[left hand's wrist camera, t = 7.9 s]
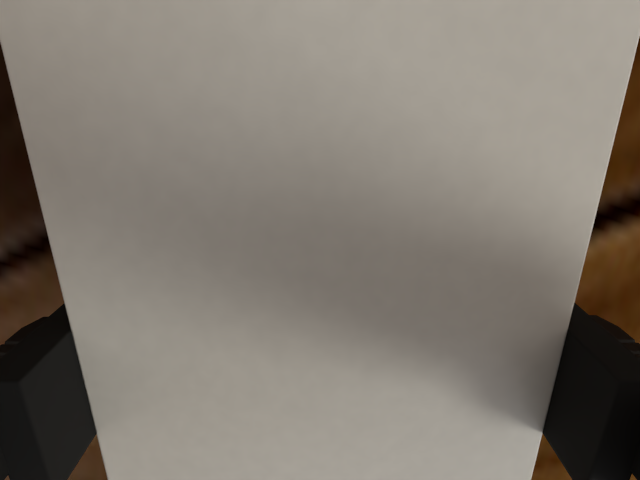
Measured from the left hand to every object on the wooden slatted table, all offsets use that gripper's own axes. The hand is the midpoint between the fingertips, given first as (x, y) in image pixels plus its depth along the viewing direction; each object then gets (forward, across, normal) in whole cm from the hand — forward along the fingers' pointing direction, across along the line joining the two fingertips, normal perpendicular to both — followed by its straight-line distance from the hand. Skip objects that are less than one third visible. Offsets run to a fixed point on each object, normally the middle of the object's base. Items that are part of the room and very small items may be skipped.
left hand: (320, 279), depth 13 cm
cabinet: (+4, 0, -4) cm, 6 cm away
